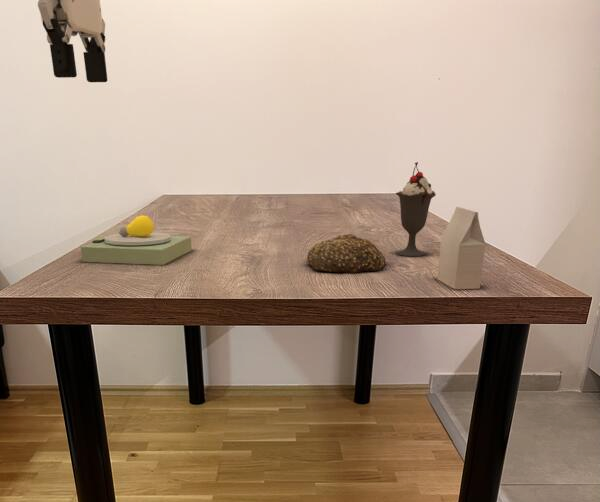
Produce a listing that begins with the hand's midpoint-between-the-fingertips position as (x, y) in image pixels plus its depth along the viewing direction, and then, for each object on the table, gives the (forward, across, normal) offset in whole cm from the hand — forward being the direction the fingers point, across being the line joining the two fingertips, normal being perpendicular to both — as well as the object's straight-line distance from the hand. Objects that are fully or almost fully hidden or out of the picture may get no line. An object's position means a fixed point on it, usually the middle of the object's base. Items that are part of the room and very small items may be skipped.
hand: (82, 79), depth 94 cm
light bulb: (+23, -5, +4) cm, 24 cm away
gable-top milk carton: (+26, +7, +57) cm, 63 cm away
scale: (+26, -5, +4) cm, 27 cm away
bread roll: (+26, -3, +40) cm, 48 cm away
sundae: (+26, -16, +50) cm, 59 cm away
